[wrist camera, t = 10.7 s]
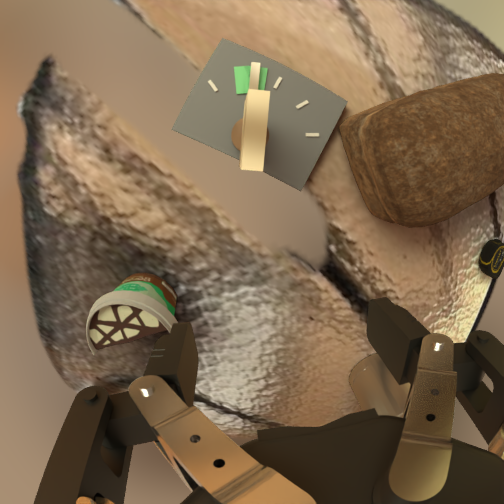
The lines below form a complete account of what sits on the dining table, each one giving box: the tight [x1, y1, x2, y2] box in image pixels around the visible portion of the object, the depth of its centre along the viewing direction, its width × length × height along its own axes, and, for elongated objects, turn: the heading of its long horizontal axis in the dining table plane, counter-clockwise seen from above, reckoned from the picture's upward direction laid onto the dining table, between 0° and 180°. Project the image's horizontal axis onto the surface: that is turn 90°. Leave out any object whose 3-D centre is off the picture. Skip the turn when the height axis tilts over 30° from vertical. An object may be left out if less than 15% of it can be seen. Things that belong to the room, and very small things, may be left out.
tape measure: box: [479, 239, 504, 279], centre depth 40 cm, size 7×7×4 cm
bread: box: [339, 73, 504, 228], centre depth 27 cm, size 15×32×16 cm, turn 116°
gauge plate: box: [172, 38, 348, 191], centre depth 32 cm, size 13×17×2 cm
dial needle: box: [231, 62, 270, 171], centre depth 27 cm, size 12×4×10 cm, turn 175°
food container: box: [86, 273, 178, 355], centre depth 34 cm, size 12×6×10 cm, turn 109°
